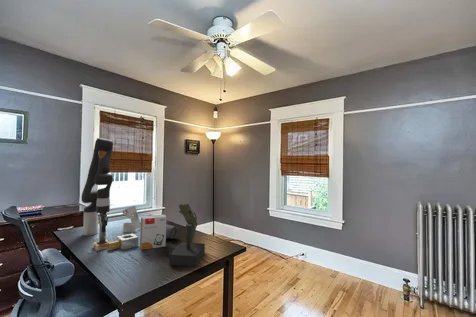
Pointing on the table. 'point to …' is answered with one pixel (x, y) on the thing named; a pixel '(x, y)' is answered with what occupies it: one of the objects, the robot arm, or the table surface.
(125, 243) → the socket block
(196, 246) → the joystick
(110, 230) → the table surface
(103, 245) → the wooden square frame
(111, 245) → the bar
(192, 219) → the olive green upright piece
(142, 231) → the hard drive box
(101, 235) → the grey metal cylinder
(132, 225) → the phone holder
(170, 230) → the bluetooth speaker
